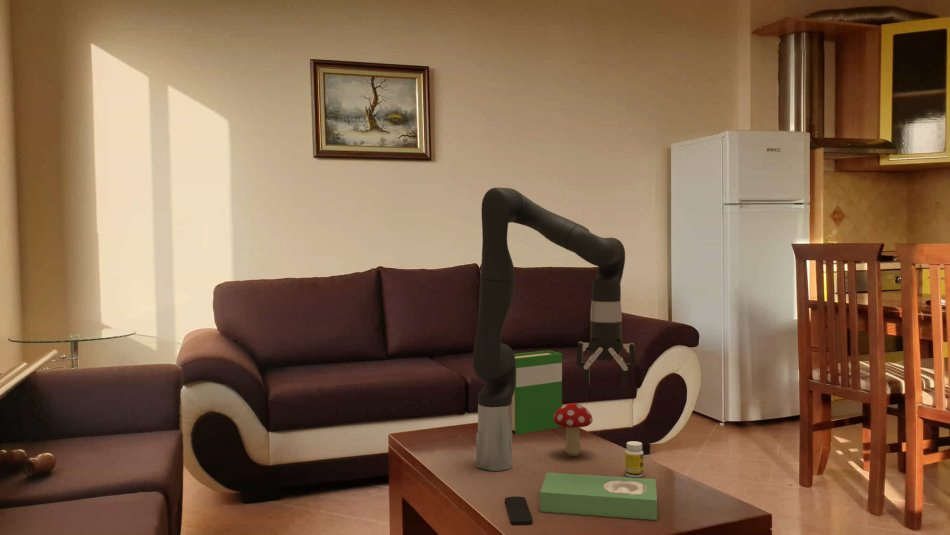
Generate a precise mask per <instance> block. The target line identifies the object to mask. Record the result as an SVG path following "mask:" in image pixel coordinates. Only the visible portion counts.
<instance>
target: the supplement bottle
mask: <svg viewBox="0 0 950 535" xmlns="http://www.w3.org/2000/svg"><path fill="white" fill-rule="evenodd" d="M624 455H625V456H624V474H625V476H626V477H628V478H642V477H643V476H644V455H645V454H644V451H643V443H642V442H640V441H634V440H633V441H632V440H631V441H630V440H629V441H627V442H626V449H625V451H624Z"/></svg>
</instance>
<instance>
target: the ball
mask: <svg viewBox="0 0 950 535" xmlns="http://www.w3.org/2000/svg"><path fill="white" fill-rule="evenodd" d="M617 490H618V491H623V492H631V491H630V490H629V489H628V488H625V487H620V488H618V489H617Z"/></svg>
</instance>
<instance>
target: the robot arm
mask: <svg viewBox="0 0 950 535" xmlns="http://www.w3.org/2000/svg"><path fill="white" fill-rule="evenodd" d="M480 210H481V228H482V230H481V231H482V232H481V233H482V242H481V243H482V244H481V245H482V248H481V269H480V279H479V297H478V298H479V301H478V314H477V328H476V333H475V334H476V335H475V341H474V347H473V354H472V368H473V372H474V373H475V376H476V377H477V378H478V379H480V380H481V381H484V384H483V387H482V388H481V389H480V391H479V392H478V394H477V395H478V396H477V405H478V406H477V432H476V433H475V434H476V435H475V438H476V440H475V441H476V442H475V444H476V450H475V454H476V456H475V457H476V463H475V465H476V468H477V469H482V470H485V471H490V472H491V471H492V472H498V471H501V472H502V471H505V470H510V469H511V468H512V466H513V430H512V396H513V394H514V390H515V374H516V362H515V356H514V354H515V353H514V351H513V349H512V348H511V347H510V346H509V345H507V344H506V343H502V331H503V328H504V325H505V321H506V320H507V317H508V315H509V313H510V310H511V307H512V304H513V300H514V295H515V282H516V272H515V265H514V263H513V260H512V259H513V258H512V257H511V254H510V251H509V245H508V232H509V231H508V230H509V228H508V227H509V223H512V224H513V223H514V224H518V225H522V226H524V227H528V228H530V229H532V230H534V231H535V232H536V231H537V232H538V233H539V234H540V235H541V236H543V238H545V239H546V240H548V241H550V242H551V243H553V244H554V245H557V246H559V247H560V248H563V249H565V250H567V251H570V252H572V253H575V255H577V256H578V257H579V258H581V259H582V260H584V261H585V262H587V263H589V264H591V265H593V266H596V267H598V268H597V269H598V270H597V275H596V277H594V278H593V280H592V283H591V302H590V303H591V305H590V339H589V342H583V341H582V340H580V341H578V343H577V347H576V348H577V349H576V362H575V364H576V366H577V367H579V368H582V370H583V381H584V383H586V385H590V382H591V381H590V380H591V379H590V377H591V376H590V375H591V368H590V367H591V365H593V363H594V362H595V361H596V360H598V361H607V362H613V361H614V360H615V361H616V362H617V364H618V365H619V366H620V367H621V386H622V387H625V385H626V384H628V377H629V376H628V372H629V370H633V369H636V355H635V354H636V350H635V343H634V342H630V343H624V342H623V341H622V330H623V329H622V328H623V326H622V323H623V322H622V321H623V320H622V319H623V313H622V311H623V310H622V303H621V302H622V298H621V295H622V293H621V292H622V291H621V288H622V286H621V283H622V279H623V274H624V268H625V263H626V250H625V246H624V244H623V242H622V241H620V239H618V238H615V237H601V236H599V235H596V234H594V233H592V232H591V231H590V230H589V228H588V227H585V226H584V225H582V224H580V223H577V222H575V221H573V220H570V219H568V218H566V217H564V216H561V215H559V214H556V213H554V212H552V211H550V210H547V209H546V208H544V207H542V206H540V204H537V203H536V202H534V201H532V200H531V199H529V198H528V197H527V196H526V195H524V194H523V193H521V192H520V191H518V190H516V189H515V188H509V187H492V188H490V189H488V190H487V191H486V192H485V194H484V195H483V198H482V202H481V209H480ZM587 348H588V350H590V352H591V355H590V356H589V358H588V359H587V360H586V361H585V362H584V361H583V353H584V352H585V351H586V350H587ZM624 349H625V351H626V352H627V353H629V363H626V361H625V360H624V359H623V357H622V356H621V354H620V353H621V352H622V351H623V350H624Z"/></svg>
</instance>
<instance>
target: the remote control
mask: <svg viewBox="0 0 950 535" xmlns="http://www.w3.org/2000/svg"><path fill="white" fill-rule="evenodd" d="M504 504H506V505H505V507H506V512H507V515H508V518H509V522H510V525H512V526H515V525H517V527H518V526H532V525H533V524H534V520H533V517H532V513H531V511H530V508H529V504H528V502H527V499H526V497H524V496H519V495H517V496H508V497H505V498H504Z"/></svg>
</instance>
